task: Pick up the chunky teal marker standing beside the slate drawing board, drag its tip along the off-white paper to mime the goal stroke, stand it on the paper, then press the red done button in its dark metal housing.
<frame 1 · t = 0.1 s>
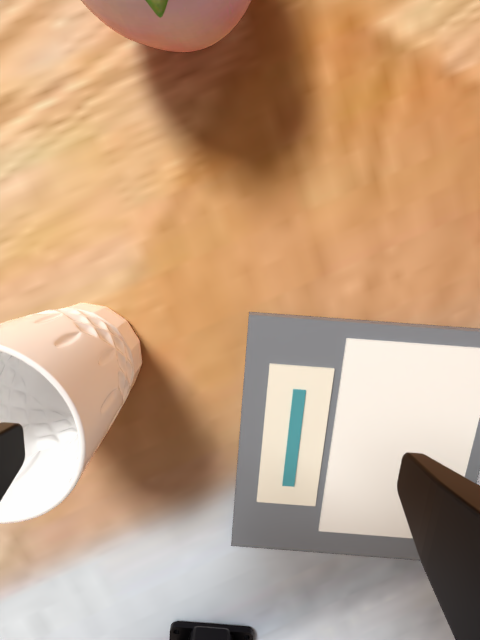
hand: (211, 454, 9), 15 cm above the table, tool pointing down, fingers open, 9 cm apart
white cup: (92, 352, 24), on the table
drawing board: (357, 442, 25), on the table
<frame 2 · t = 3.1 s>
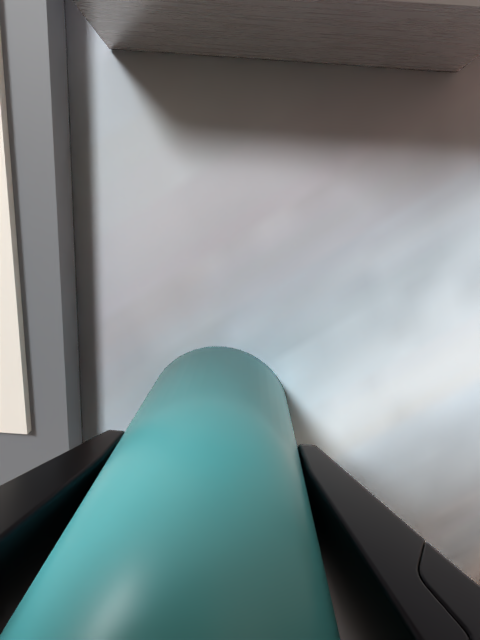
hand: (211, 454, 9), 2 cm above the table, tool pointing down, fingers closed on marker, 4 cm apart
marker: (218, 412, 11), on the table, touching gripper
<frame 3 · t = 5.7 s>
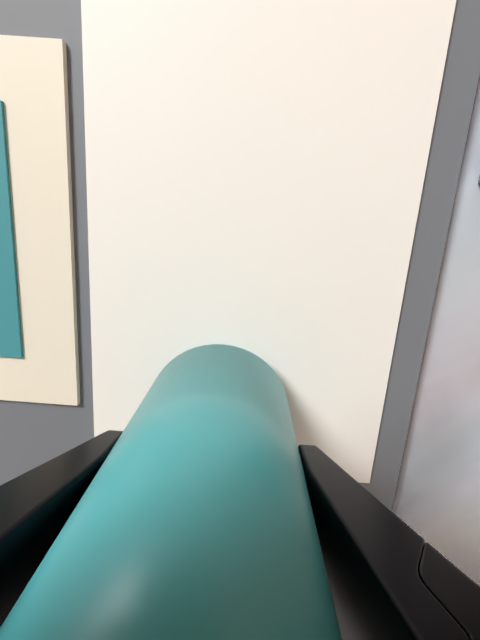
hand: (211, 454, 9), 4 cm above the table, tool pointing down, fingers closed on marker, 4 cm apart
marker: (218, 410, 11), point 2 cm above the table, touching gripper
drawing board: (166, 264, 11), on the table
when the fingers open (3 cm above the table, at t = 8.4 s): marker stays where it is, resting on drawing board.
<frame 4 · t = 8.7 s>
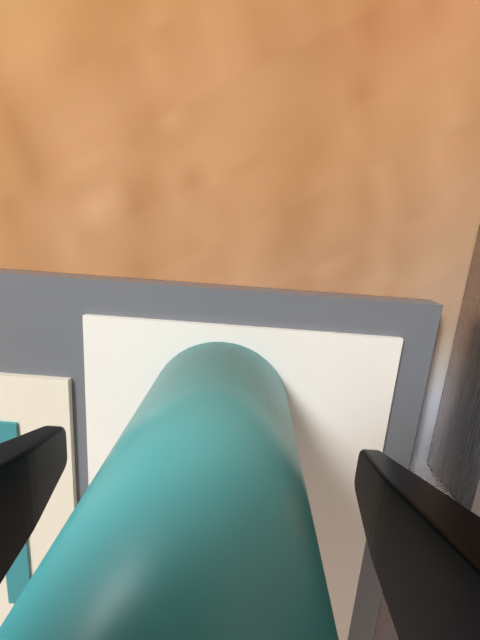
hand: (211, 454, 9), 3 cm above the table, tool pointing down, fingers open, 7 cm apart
marker: (219, 406, 11), point 1 cm above the table, touching drawing board
drawing board: (158, 517, 13), on the table
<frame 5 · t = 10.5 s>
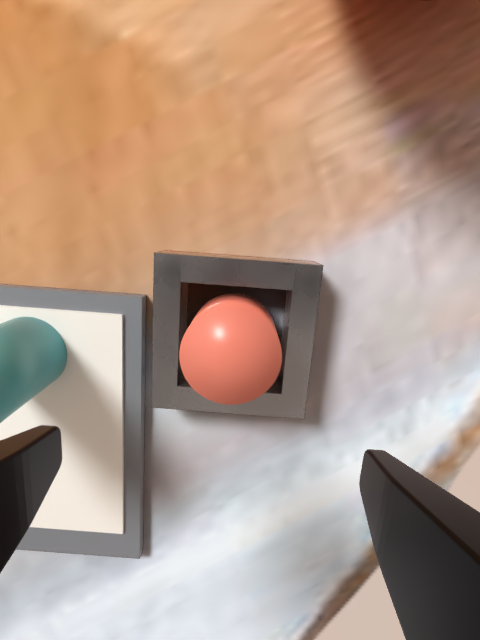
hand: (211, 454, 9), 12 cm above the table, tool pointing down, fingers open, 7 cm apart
button housing: (234, 327, 20), on the table
marker: (30, 352, 20), point 1 cm above the table, touching drawing board
done button: (232, 344, 17), point 3 cm above the table, slide at 0.0 cm
drawing board: (12, 423, 22), on the table
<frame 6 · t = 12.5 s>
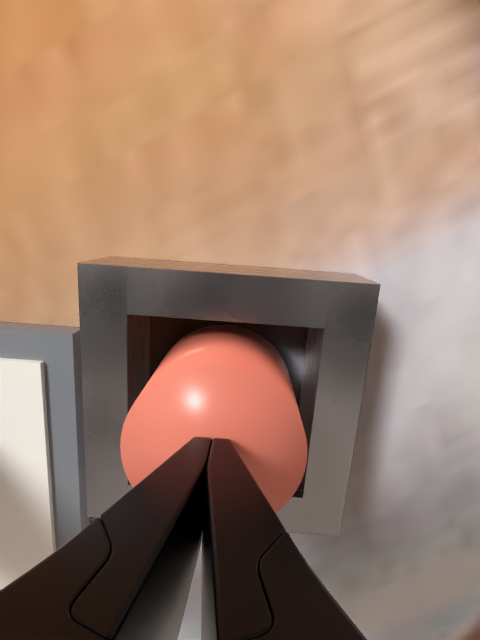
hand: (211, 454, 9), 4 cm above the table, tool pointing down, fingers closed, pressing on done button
button housing: (225, 378, 13), on the table
done button: (219, 415, 10), point 3 cm above the table, slide at 0.6 cm, touching gripper
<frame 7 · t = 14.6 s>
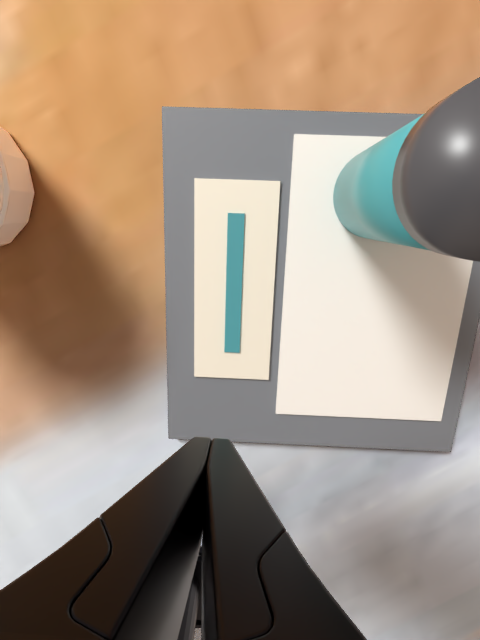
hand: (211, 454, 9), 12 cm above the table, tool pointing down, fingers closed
marker: (376, 194, 17), point 1 cm above the table, touching drawing board
drawing board: (319, 295, 19), on the table
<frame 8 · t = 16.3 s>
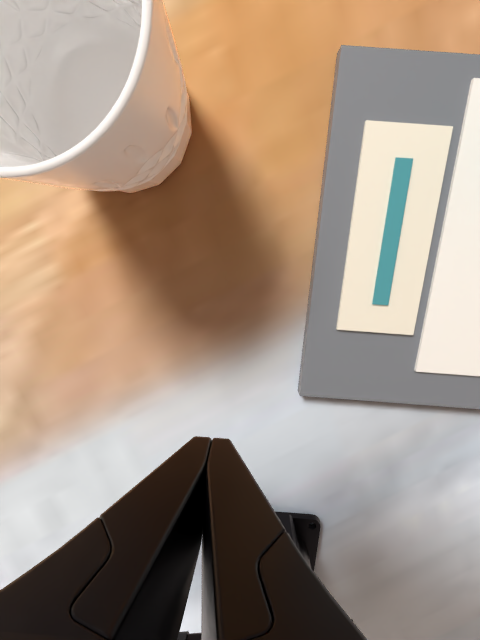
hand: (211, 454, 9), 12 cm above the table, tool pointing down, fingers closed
white cup: (126, 122, 18), on the table
drawing board: (468, 250, 19), on the table
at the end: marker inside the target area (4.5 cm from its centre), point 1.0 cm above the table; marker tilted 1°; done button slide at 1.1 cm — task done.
